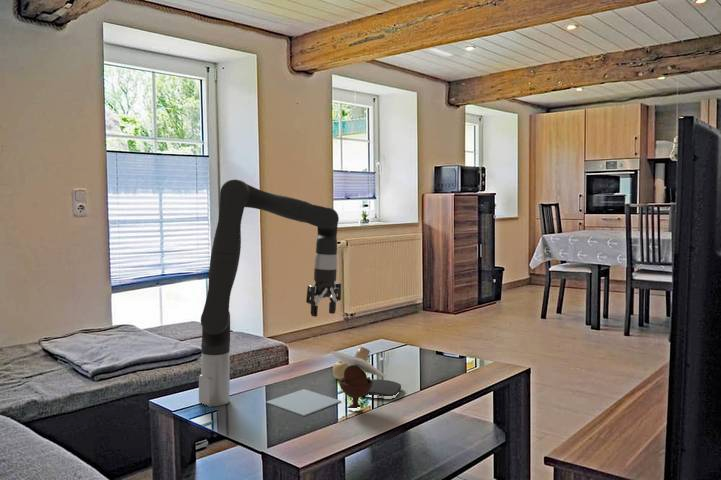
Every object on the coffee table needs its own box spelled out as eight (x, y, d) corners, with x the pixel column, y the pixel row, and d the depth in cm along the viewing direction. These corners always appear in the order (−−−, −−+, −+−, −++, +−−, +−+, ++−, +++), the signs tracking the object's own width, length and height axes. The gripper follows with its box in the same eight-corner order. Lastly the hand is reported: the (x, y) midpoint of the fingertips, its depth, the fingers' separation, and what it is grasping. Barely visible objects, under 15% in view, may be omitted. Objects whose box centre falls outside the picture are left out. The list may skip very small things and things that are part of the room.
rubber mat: (303, 416, 194) (303, 415, 194) (266, 402, 205) (266, 401, 205) (341, 402, 208) (341, 400, 208) (304, 390, 219) (304, 389, 219)
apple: (358, 378, 234) (354, 363, 229) (340, 388, 231) (336, 374, 227) (349, 366, 240) (344, 352, 236) (331, 376, 237) (326, 362, 233)
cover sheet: (361, 361, 191) (369, 344, 193) (330, 352, 200) (337, 336, 202) (385, 377, 200) (391, 361, 202) (353, 368, 210) (360, 353, 212)
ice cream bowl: (372, 415, 196) (373, 369, 194) (337, 414, 196) (338, 369, 195) (372, 404, 206) (373, 360, 205) (339, 403, 206) (340, 359, 205)
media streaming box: (402, 388, 224) (403, 381, 224) (394, 401, 210) (394, 393, 210) (364, 384, 228) (364, 377, 227) (353, 397, 214) (354, 389, 213)
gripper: (318, 269, 197) (316, 319, 198) (348, 267, 207) (345, 314, 208) (302, 267, 201) (300, 315, 203) (332, 264, 212) (329, 310, 213)
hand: (323, 314), depth 206 cm, fingers open, 8 cm apart
